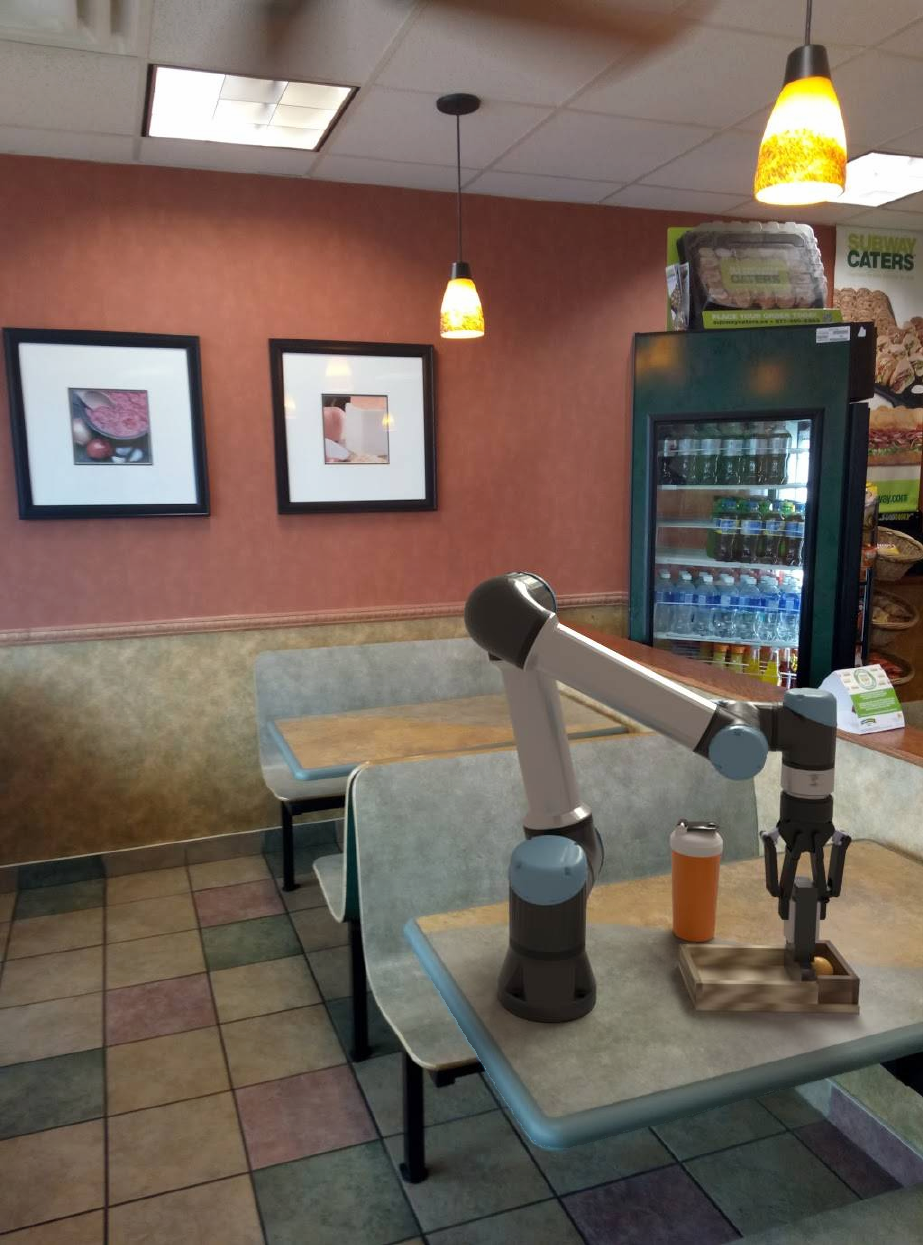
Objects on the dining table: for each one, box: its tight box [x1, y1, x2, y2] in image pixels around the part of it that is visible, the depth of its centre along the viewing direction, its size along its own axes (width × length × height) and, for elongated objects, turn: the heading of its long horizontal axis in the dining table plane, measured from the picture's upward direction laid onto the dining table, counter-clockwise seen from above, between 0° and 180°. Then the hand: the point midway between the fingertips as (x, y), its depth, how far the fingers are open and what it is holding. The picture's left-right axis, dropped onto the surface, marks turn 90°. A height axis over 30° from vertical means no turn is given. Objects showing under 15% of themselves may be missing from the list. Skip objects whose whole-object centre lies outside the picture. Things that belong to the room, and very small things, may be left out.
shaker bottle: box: [669, 817, 724, 943], centre depth 157 cm, size 9×9×20 cm
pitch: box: [677, 939, 861, 1014], centre depth 140 cm, size 24×13×5 cm, turn 88°
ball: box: [811, 957, 833, 981], centre depth 139 cm, size 4×4×4 cm
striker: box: [784, 876, 818, 981], centre depth 138 cm, size 3×8×16 cm, turn 178°
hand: (800, 938), depth 138 cm, fingers closed on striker, 3 cm apart
